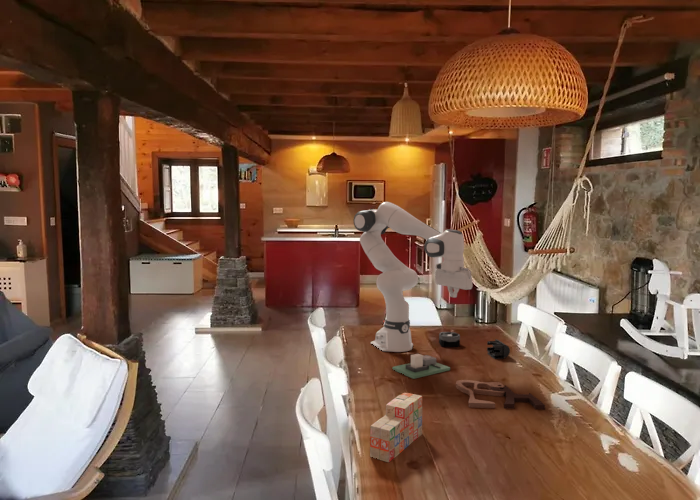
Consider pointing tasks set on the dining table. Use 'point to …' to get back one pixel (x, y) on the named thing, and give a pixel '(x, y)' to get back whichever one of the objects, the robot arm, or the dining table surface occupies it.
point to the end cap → (498, 349)
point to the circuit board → (422, 368)
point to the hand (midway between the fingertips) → (453, 297)
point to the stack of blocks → (396, 427)
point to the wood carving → (495, 394)
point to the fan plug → (416, 360)
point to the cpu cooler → (449, 339)
